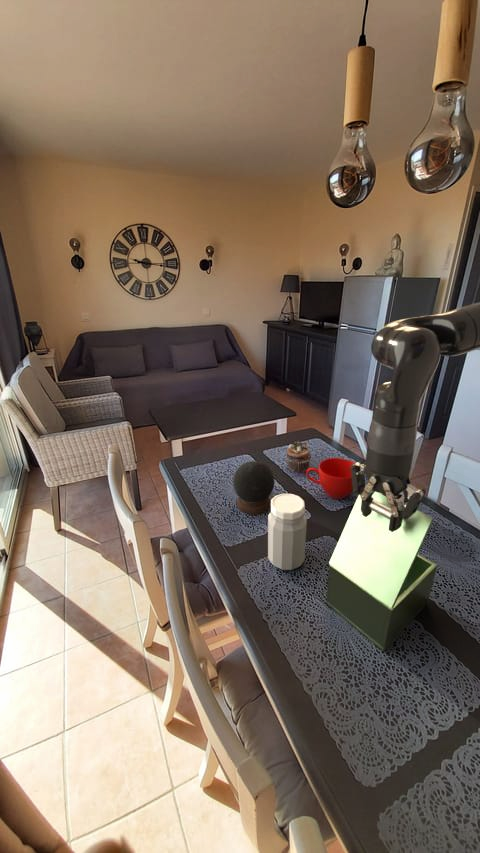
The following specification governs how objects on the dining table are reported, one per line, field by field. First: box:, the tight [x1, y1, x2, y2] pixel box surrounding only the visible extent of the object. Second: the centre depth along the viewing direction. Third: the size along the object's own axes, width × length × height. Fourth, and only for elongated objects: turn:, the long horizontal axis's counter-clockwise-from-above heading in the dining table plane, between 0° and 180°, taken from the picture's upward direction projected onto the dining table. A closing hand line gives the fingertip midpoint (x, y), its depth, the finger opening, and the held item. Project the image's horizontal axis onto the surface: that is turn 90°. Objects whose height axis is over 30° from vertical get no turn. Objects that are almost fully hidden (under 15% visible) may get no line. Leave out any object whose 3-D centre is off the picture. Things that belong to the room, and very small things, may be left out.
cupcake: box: [285, 440, 312, 473], centre depth 136 cm, size 10×10×10 cm
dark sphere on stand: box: [232, 460, 275, 515], centre depth 115 cm, size 13×13×15 cm
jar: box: [267, 493, 308, 571], centre depth 92 cm, size 10×10×18 cm
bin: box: [325, 553, 438, 653], centre depth 80 cm, size 18×15×12 cm
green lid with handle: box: [328, 484, 435, 609], centre depth 70 cm, size 19×15×5 cm
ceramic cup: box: [305, 457, 356, 500], centre depth 120 cm, size 13×17×10 cm
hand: (379, 521), depth 69 cm, fingers closed on green lid with handle, 5 cm apart
